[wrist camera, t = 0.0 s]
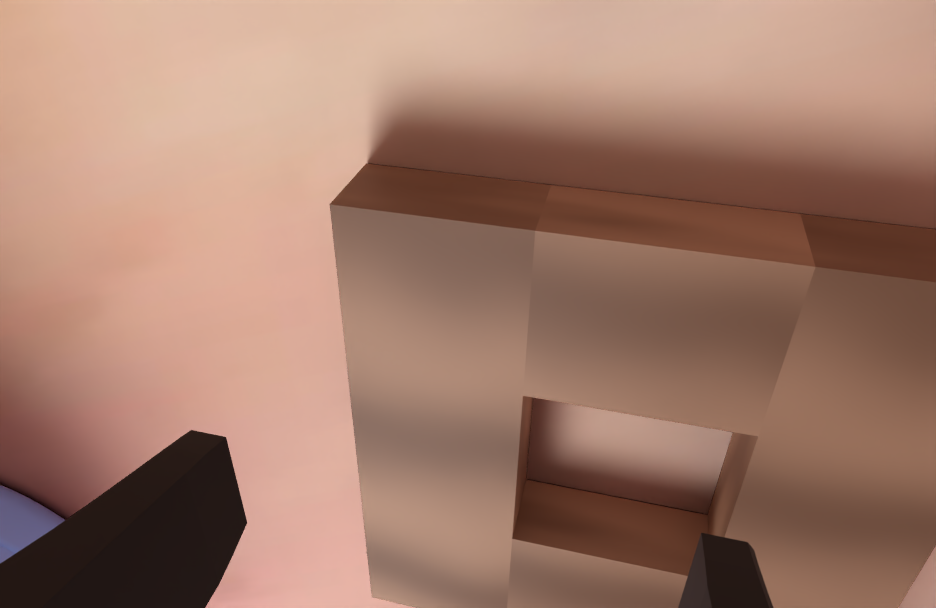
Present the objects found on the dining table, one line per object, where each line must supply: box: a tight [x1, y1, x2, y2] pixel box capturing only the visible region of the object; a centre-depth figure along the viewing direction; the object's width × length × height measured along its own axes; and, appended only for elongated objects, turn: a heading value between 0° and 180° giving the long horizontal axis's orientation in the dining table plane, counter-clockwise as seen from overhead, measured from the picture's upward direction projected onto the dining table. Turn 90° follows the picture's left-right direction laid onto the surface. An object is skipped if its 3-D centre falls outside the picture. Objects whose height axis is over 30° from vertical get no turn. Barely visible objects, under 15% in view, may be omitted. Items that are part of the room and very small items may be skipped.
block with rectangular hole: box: [330, 164, 936, 608], centre depth 21 cm, size 16×16×2 cm
